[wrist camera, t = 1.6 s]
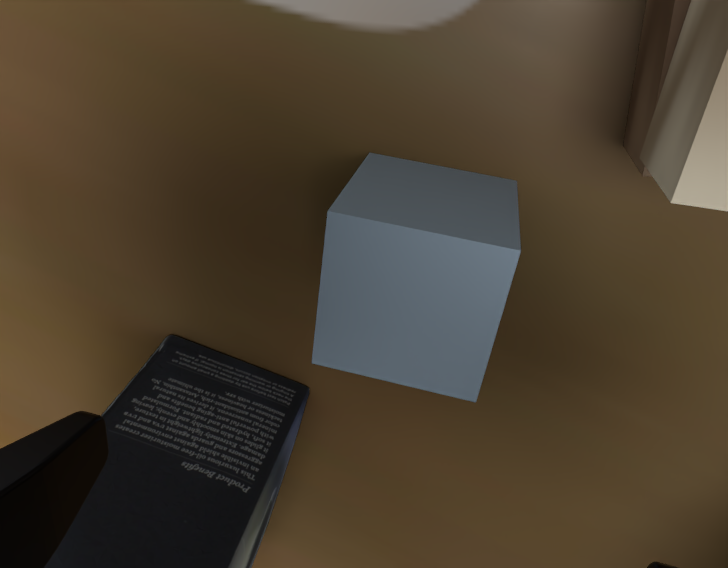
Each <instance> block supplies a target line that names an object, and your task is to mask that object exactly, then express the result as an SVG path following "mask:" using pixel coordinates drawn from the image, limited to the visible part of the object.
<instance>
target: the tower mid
mask: <svg viewBox="0 0 728 568" xmlns="http://www.w3.org/2000/svg"><path fill="white" fill-rule="evenodd" d="M640 159H641V161H642V162H643V164H644V165H645V167H646V168H647V169H648V171H649V172H650V174H651V175H652V177H653V178H654V180H655V181H656V182H657V184H658V185H659V187H660V188H661V190H662V191H663V192H664V194H665V195H666V197H667V198H668V200H669V201H670V202H671V203H675V204H682V205H689V206H695V207H702V208H709V209H715V210H722V211H728V0H691V3H690V6H689V9H688V12H687V15H686V18H685V21H684V24H683V27H682V30H681V33H680V36H679V39H678V42H677V45H676V48H675V51H674V54H673V57H672V60H671V63H670V66H669V69H668V72H667V75H666V79H665V82H664V85H663V88H662V91H661V94H660V97H659V100H658V103H657V106H656V109H655V112H654V115H653V118H652V121H651V124H650V127H649V130H648V133H647V136H646V139H645V142H644V145H643V148H642V151H641V155H640Z"/></svg>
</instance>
